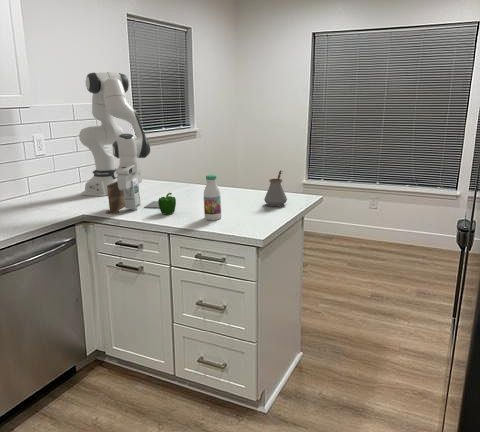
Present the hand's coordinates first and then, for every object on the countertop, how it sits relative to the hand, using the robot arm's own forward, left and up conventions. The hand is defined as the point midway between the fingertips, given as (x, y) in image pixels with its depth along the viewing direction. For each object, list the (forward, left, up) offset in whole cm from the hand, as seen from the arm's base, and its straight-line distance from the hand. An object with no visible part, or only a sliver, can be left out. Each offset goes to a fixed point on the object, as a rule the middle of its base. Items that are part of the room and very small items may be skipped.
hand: (131, 195), depth 226 cm
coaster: (+10, +10, -8) cm, 16 cm away
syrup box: (0, 0, -7) cm, 6 cm away
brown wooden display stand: (-8, 0, -8) cm, 11 cm away
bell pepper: (+20, -5, -8) cm, 22 cm away
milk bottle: (+44, -11, -8) cm, 46 cm away
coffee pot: (+70, +21, -8) cm, 74 cm away
